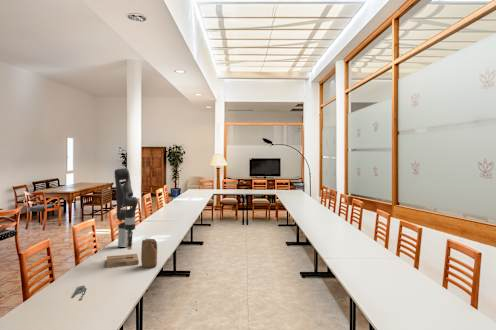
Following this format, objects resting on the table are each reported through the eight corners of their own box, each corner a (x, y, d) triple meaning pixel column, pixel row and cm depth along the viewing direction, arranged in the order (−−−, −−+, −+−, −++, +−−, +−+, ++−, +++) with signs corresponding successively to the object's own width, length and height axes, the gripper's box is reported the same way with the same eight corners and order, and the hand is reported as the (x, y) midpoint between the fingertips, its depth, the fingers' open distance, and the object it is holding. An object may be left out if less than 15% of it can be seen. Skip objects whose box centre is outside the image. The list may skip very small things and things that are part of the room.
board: (106, 260, 245) (106, 256, 245) (136, 257, 253) (137, 253, 253) (106, 267, 228) (106, 263, 228) (138, 264, 237) (138, 260, 237)
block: (140, 267, 230) (140, 240, 229) (144, 264, 237) (144, 237, 237) (154, 268, 229) (155, 240, 229) (158, 265, 237) (158, 238, 236)
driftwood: (77, 287, 194) (77, 284, 194) (89, 286, 196) (90, 283, 196) (68, 302, 175) (68, 298, 174) (81, 301, 176) (82, 297, 176)
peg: (126, 248, 244) (126, 235, 243) (132, 248, 245) (132, 235, 245) (126, 250, 240) (127, 236, 240) (132, 249, 241) (132, 236, 241)
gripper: (124, 221, 247) (124, 243, 248) (125, 225, 234) (124, 248, 234) (134, 221, 250) (134, 243, 250) (135, 224, 237) (135, 247, 237)
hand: (129, 245), depth 242 cm, fingers closed on peg, 4 cm apart
